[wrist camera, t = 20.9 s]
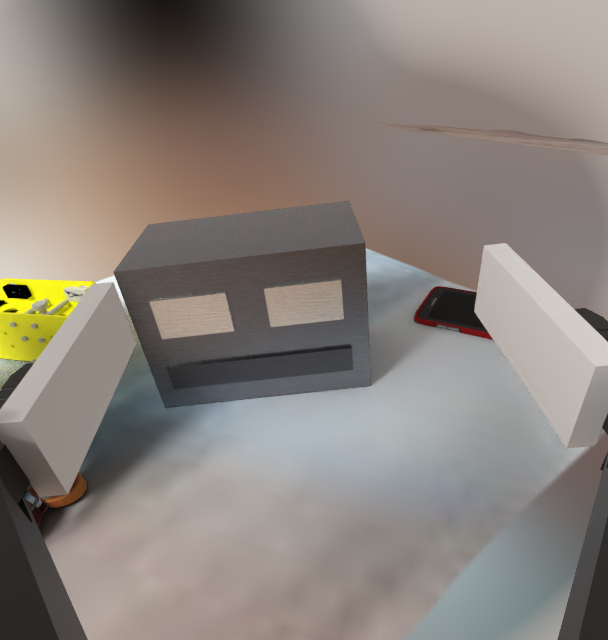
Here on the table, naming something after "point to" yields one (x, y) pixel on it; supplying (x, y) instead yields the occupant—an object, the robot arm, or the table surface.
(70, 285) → the yellow toy chassis
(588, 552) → the robot arm
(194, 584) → the table surface
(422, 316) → the cell phone
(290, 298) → the box
